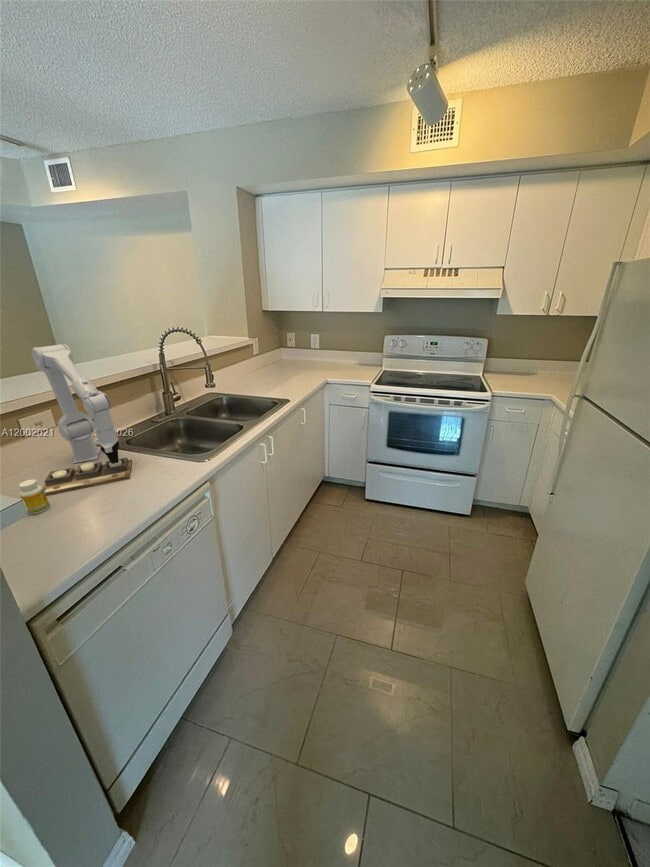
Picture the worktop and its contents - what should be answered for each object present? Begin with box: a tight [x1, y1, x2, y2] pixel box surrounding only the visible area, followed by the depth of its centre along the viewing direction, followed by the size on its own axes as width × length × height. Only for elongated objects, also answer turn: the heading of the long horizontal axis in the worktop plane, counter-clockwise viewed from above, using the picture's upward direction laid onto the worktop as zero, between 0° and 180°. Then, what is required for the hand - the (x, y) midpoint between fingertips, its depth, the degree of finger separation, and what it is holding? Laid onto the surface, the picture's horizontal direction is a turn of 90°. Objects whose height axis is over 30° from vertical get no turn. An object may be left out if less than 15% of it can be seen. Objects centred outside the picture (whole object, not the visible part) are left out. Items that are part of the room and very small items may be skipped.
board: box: [42, 457, 133, 497], centre depth 118 cm, size 14×26×3 cm, turn 114°
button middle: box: [80, 461, 95, 473], centre depth 118 cm, size 4×4×2 cm
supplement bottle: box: [18, 479, 50, 515], centre depth 100 cm, size 5×5×10 cm
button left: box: [52, 469, 67, 478], centre depth 116 cm, size 4×4×2 cm
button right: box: [109, 460, 122, 467], centre depth 122 cm, size 4×4×2 cm
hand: (115, 462), depth 122 cm, fingers closed, pressing on button right
